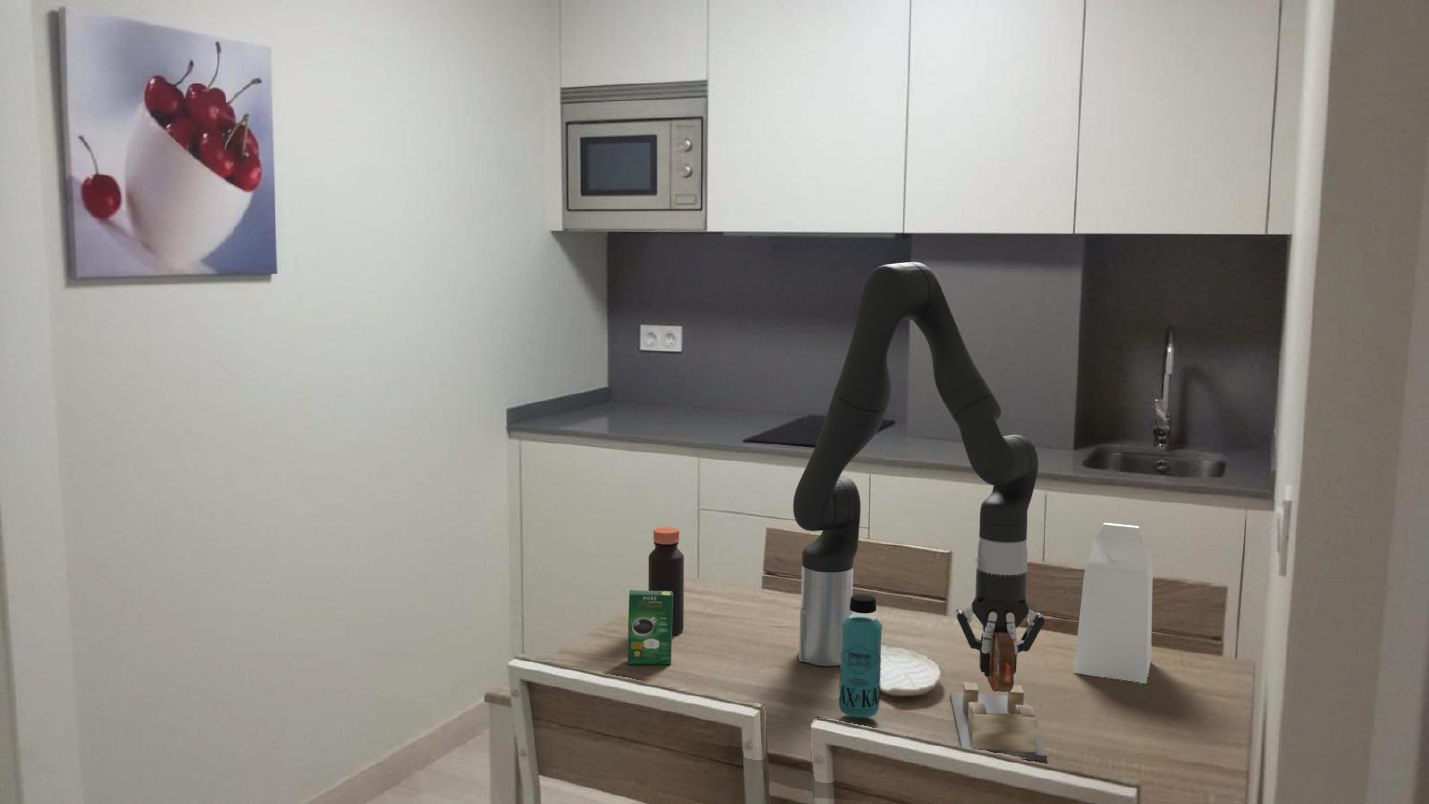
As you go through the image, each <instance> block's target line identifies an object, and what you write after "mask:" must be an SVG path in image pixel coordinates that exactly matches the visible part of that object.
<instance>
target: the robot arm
mask: <svg viewBox="0 0 1429 804" xmlns="http://www.w3.org/2000/svg"><path fill="white" fill-rule="evenodd" d="M910 320H911V321H912V322H914V324H915V325H916V326H917V327H918V329H919V330H920V332H921V333H922V334H923V336H924V338H925V340H926V342H927V343H928V346H929V350H930V353H931V361H932V369H933V370H932V371H933V378H934V383H935V387H936V389H937V391H938V394H939V396H940V398H941V400H942V402H943V403H944V405H945V407H946V409H947V410H948V412H949V413H950V414H949V415H951V417H952V419H953V420H954V421H955V423H956V425H957V427H958V429H959V432H960V436H961V440H962V443H963V446H964V449H965V452H966V456H967V458H968V461H969V463H970V466H971V468H972V469H973V471H974V472H975V474H976V475H977V476H978V477H979V479H981V480H982V481H984V482H985V483H986V484H987V485H991V486H992V487H993V488H992V491H991V493H990V495H989V496H988V497H987V498H985V499H984V500H983V502H982V503H981V505H980V512H979V529H978V530H979V531H978V541H977V548H976V557H975V562H976V564H975V565H976V566H975V567H976V568H975V591H974V592H975V593H974V595H975V597H974V599H973V601H972V603H971V606H968V607H967V608H964V609H962V608H957V609H956V610H955V615H956V619H957V620H958V621H957V622H958V623H959V625H960V628H961V630H962V632H963V634H964V636H965V638H966V641H967V643H968V646H969V647H970V648H971V649H973V650H977V651H978V652H979V666H978V667H979V670H980V672H981V673H983V674H984V677H986V676H990V651H989V650H990V645H991V640H992V638H993V633H994V632H997V631H1002V632H1005V633H1008V635H1010V636H1011V638H1012V640H1013V642H1014V647H1015V665H1014V675H1015V674H1016V672H1017V662H1018V661H1017V659H1018V657H1017V656H1018V654H1019V653H1021V652H1029V651H1030V649H1031V647H1032V646H1033V644H1034V642H1035V640H1036V638H1037V637H1038V635H1039V633H1040V631H1041V630H1042V628H1043V626H1044V624H1045V622H1046V621H1045V617H1044V615H1043V614H1042V613H1041V612H1039V611H1037V612H1035V611H1034V610H1032V609H1030V608H1029V606H1028V604H1027V582H1028V556H1029V555H1028V554H1029V553H1028V552H1029V550H1028V542H1027V540H1028V539H1027V538H1028V537H1027V536H1028V535H1027V534H1028V510H1029V506H1030V503H1031V500H1032V497H1033V494H1034V489H1035V486H1036V482H1037V477H1038V471H1039V458H1038V453H1037V449H1036V448H1035V445H1034V443H1033V442H1032V441H1031V440H1030V439H1029V438H1028V437H1027V436H1024V435H1020V434H1010V435H1004V436H1003V434H1002V433H1001V431H1000V427H999V426H998V425H999V424H998V423H997V421H998V420H999V419H1000V417H1001V414H1002V409H1001V406H1000V404H999V401H998V400H997V398H996V396H995V395H994V393H993V392H992V390H991V389H990V387H989V386H988V383H987V382H986V380H985V379H984V377H983V376H982V374H981V372H980V371H979V368H978V367H977V365H976V364H975V362H974V361H973V358H972V356H971V354H970V352H969V351H968V348H967V346H966V344H965V342H964V340H963V337H962V334H961V332H960V330H959V328H958V325H957V323H956V321H955V318H954V315H953V313H952V311H951V309H950V306H949V303H948V301H947V298H946V296H945V293H944V291H943V289H942V286H941V285H940V281H938V278H937V277H936V275H935V274H934V272H933V270H931V268H929V267H928V266H927V265H925V264H923V263H922V262H914V261H912V262H911V261H910V262H908V261H907V262H899V263H890V264H889V263H888V264H884V265H881V266H878V267H876V268H875V269H874V270H872V272H871V273H870V274H869V275H868V277H867V279H866V282H865V283H864V286H863V290H862V293H861V297H860V301H859V305H858V311H857V315H856V319H855V324H854V328H853V334H852V337H851V341H850V344H849V347H848V350H847V353H846V357H845V360H844V363H843V365H842V366H843V367H842V370H841V372H840V375H839V378H838V380H837V382H836V386H835V389H834V391H833V393H832V398H831V399H830V403H829V406H828V410H827V412H826V416H825V419H824V423H823V425H822V428H821V430H820V433H819V437H818V438H817V441H816V444H815V447H814V449H813V451H812V454H811V456H810V458H809V460H808V463H807V464H806V466H805V468H804V471H803V473H802V474H801V478H800V479H799V480H798V484H797V487H796V489H795V492H794V495H793V502H792V503H793V504H792V509H793V511H792V512H793V517H794V520H795V522H796V524H797V525H798V527H800V528H801V529H803V530H804V531H808V532H818V531H819V532H820V531H821V533H820V535H819V536H818V537H817V538H816V539H815V540H814V541H812V542H811V543H810V544H808V545H806V546H805V547H804V549H803V550H802V555H801V588H800V589H801V591H800V594H801V595H800V596H801V597H800V611H799V613H800V614H799V650H798V651H799V652H798V653H799V658H798V659H799V660H798V661H799V662H802V663H807V664H811V665H813V666H814V665H815V666H821V667H835V666H837V667H838V666H841V658H840V657H841V656H840V655H841V649H842V622H843V621H844V620H845V619H846V618H847V617H849V616H850V615H852V614H853V611H851V610H850V600H851V596H853V595H854V594H853V592H854V591H853V588H854V587H853V585H854V581H853V580H854V561H855V556H856V555H857V551H858V548H859V547H858V546H859V538H860V537H859V536H860V525H861V524H860V523H861V514H862V513H861V511H862V508H861V506H862V505H861V496H860V493H859V489H858V486H857V485H856V483H855V482H854V481H853V480H852V479H851V478H849V477H848V476H845V475H841V474H842V473H843V472H844V470H845V468H846V467H847V466H848V464H850V462H851V461H852V460H853V459H854V458H855V457H856V456H857V455H858V454H859V453H860V452H861V451H862V450H863V449H864V448H865V447H866V446H867V445H868V444H869V443H870V441H872V439H873V438H874V436H875V435H876V434H877V433H878V431H879V429H880V427H881V424H882V422H883V419H884V417H885V416H886V415H885V414H886V412H887V409H888V406H889V404H890V399H891V396H892V395H891V394H892V383H891V382H892V381H891V377H890V372H889V366H888V353H889V349H890V346H891V343H892V340H893V337H894V334H895V333H896V330H897V328H898V326H899V325H900V323H901V322H903V321H910ZM973 615H975V617H976V618H977V619H978V621H979V623H980V624H981V625H982V627H981V636H980V639H979V638H977V637H976V635H975V633H974V632H973V629H972V627H971V626H970V625H971V623H972V622H973V618H972V617H973ZM1026 617H1027V620H1026V621H1027V623H1028V625H1027V628H1026V629H1025V631H1024V633H1023V634H1022V637H1021V638H1020V640H1018V639H1017V628H1018V627H1019V626H1020V625H1021V624H1022V622H1023V621H1024V620H1025V619H1026Z"/></svg>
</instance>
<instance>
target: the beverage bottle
mask: <svg viewBox="0 0 1429 804" xmlns="http://www.w3.org/2000/svg"><path fill="white" fill-rule="evenodd" d="M850 610H851V611H852V615H850V616H849V617H847V618H846V619H845V620H844V621H843V622H842V649H841V655H840V656H841V657H840V658H841V665H840V666H839V672H838V673H839V681H838V682H839V684H838V690H839V696H838V702H837V703H838V706H839V711H841V712H842V713H843V714H844V715H847V716H849V717H853V718H869V717H873V716H876V715H877V714H878V711H879V709H880V704H881V703H880V700H881V689H882V687H881V686H882V683H881V679H882V676H881V675H882V673H881V671H882V668H881V667H882V666H881V663H882V661H883V659H882V635H883V634H882V633H883V632H882V630H883V624H882V623H881V621H880V620H878V618H876V617H875V616H874V615H872V613H875V612H877V600H876V597H875V596H873V595H871V594H867V593H857V594H853V596H851V600H850Z"/></svg>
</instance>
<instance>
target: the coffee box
mask: <svg viewBox="0 0 1429 804" xmlns="http://www.w3.org/2000/svg"><path fill="white" fill-rule="evenodd" d="M628 593H629V594H628V621H627V665H637V666H640V665H658V666H663V665H670V666H671V665H672V644H673V643H672V642H673V640H672V639H673V638H672V637H673V636H672V618H673V592H672V591H649V590H641V589H640V590H636V589H635V590H634V589H632V590H631V589H630V590H629V592H628Z"/></svg>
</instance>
